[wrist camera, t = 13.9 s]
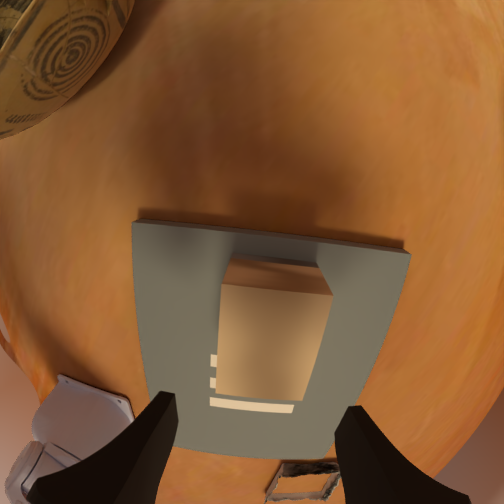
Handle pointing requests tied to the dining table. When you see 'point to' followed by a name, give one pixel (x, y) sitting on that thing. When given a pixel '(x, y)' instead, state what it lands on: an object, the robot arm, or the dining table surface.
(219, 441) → the slate board
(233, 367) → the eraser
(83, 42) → the ceramic bowl
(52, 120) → the dining table surface
